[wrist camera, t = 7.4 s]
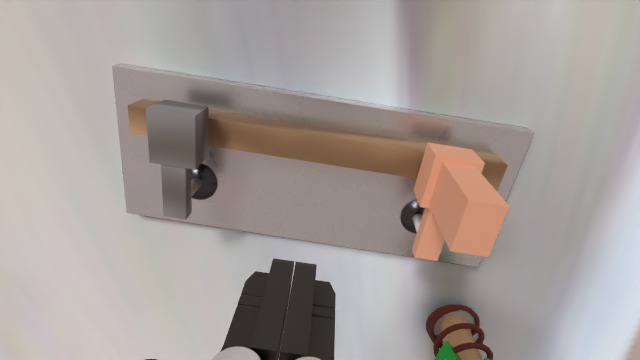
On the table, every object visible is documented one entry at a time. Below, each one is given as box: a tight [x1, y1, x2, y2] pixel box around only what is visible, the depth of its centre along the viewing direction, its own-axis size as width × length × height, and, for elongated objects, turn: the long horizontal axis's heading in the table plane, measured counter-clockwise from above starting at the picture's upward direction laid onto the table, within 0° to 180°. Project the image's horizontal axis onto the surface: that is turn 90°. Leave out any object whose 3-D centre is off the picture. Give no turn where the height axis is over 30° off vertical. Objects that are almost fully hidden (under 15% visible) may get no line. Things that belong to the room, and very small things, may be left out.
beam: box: [128, 99, 508, 220], centre depth 25 cm, size 8×26×4 cm, turn 82°
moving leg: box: [412, 142, 510, 261], centre depth 23 cm, size 8×3×9 cm, turn 172°
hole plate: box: [112, 64, 534, 267], centre depth 28 cm, size 12×30×1 cm, turn 82°
